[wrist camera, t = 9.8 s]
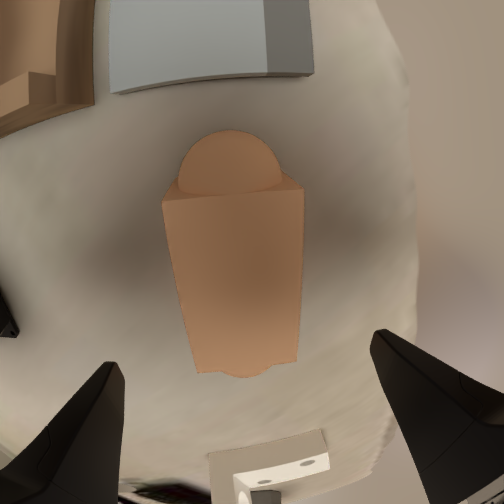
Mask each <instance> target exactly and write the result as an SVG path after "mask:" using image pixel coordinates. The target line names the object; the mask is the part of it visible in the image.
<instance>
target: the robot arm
mask: <svg viewBox="0 0 504 504" xmlns="http://www.w3.org/2000/svg"><path fill="white" fill-rule="evenodd" d="M18 335H19V330H18V328H17V327H16V325H15V323H14V321H13V319H12V317H11V315H10V313H9V311H8V309H7V307H6V305H5V303H4V301H3V298H2V296H1V294H0V337H9V338H17V336H18ZM370 354H371V357H372V359H373V362H374V365H375V368H376V371H377V374H378V377H379V380H380V383H381V386H382V388H383V391H384V393H385V395H386V397H387V399H388V402H389V404H390V406H391V408H392V411H393V413H394V415H395V417H396V420H397V422H398V424H399V426H400V429H401V431H402V433H403V436H404V438H405V440H406V443H407V445H408V447H409V450H410V453H411V455H412V458H413V460H414V463H415V465H416V468H417V470H418V473H419V476H420V478H421V481H422V484H423V486H424V489H425V492H426V494H427V497H428V500H429V503H430V504H458V503H460V502H461V501H463V500H465V499H467V501H468V504H504V393H501V392H499V391H497V390H495V389H492V388H490V387H488V386H486V385H484V384H482V383H480V382H478V381H476V380H474V379H472V378H470V377H468V376H467V375H465V374H463V373H461V372H458V370H456V369H454V368H453V367H451V366H449V365H447V364H445V363H444V362H442V361H441V360H439V359H437V358H435V357H434V356H432V355H430V354H428V353H426V352H425V351H423V350H422V349H420V348H418V347H416V346H415V345H413V344H411V343H409V342H408V341H406V340H404V339H403V338H401V337H399V336H397V335H396V334H394V333H392V332H390V331H389V330H387V329H380V330H376V331H375V332H374V334H373V338H372V341H371V345H370ZM124 396H125V379H124V376H123V374H122V372H121V370H120V368H119V366H118V364H117V363H116V362H111V361H106V362H104V363H103V364H102V365H101V366H100V367H99V368H98V369H97V370H96V371H95V372H94V374H93V375H92V376H91V377H90V378H89V379H88V380H87V381H86V382H85V383H84V384H83V386H82V387H81V388H80V389H79V390H78V391H77V392H76V393H75V394H74V395H73V397H72V398H71V399H70V400H69V401H68V402H67V403H66V404H65V405H64V407H63V408H62V409H61V410H60V411H59V412H58V413H57V414H56V416H55V417H54V418H53V419H52V420H51V421H50V422H49V423H48V426H46V427H45V428H44V429H43V430H42V431H41V433H40V434H39V435H38V436H37V437H36V438H35V439H34V440H33V441H32V442H31V443H30V444H29V445H28V446H27V447H26V448H25V449H24V450H23V451H22V452H21V453H20V454H19V455H18V456H17V457H15V458H14V459H13V460H12V461H11V462H10V463H9V464H8V465H7V466H6V467H4V468H3V469H1V470H0V504H118V482H119V466H120V454H121V443H122V434H123V425H124Z"/></svg>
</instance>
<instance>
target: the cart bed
mask: <svg viewBox="0 0 504 504" xmlns="http://www.w3.org/2000/svg"><path fill="white" fill-rule="evenodd" d="M94 4H95V0H0V138H3V137H5V136H7V135H9V134H12V133H14V132H16V131H19V130H21V129H23V128H26V127H28V126H31V125H34V124H36V123H39V122H42V121H44V120H47V119H50V118H53V117H56V116H59V115H62V114H65V113H68V112H71V111H75V110H78V109H81V108H85V107H88V106H92V105H94V92H93V60H92V49H93V19H94Z"/></svg>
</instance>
